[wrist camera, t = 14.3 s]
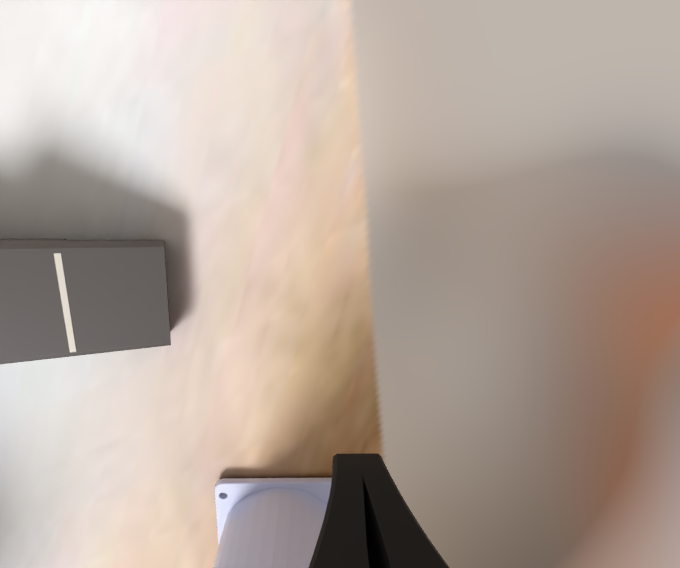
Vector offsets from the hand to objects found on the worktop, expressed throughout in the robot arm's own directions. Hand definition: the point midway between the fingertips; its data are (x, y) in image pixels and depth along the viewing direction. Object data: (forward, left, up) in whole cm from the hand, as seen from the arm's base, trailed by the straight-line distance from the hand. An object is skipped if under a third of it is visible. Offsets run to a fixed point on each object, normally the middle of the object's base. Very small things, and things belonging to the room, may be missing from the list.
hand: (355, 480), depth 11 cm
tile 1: (+2, +9, -9) cm, 13 cm away
